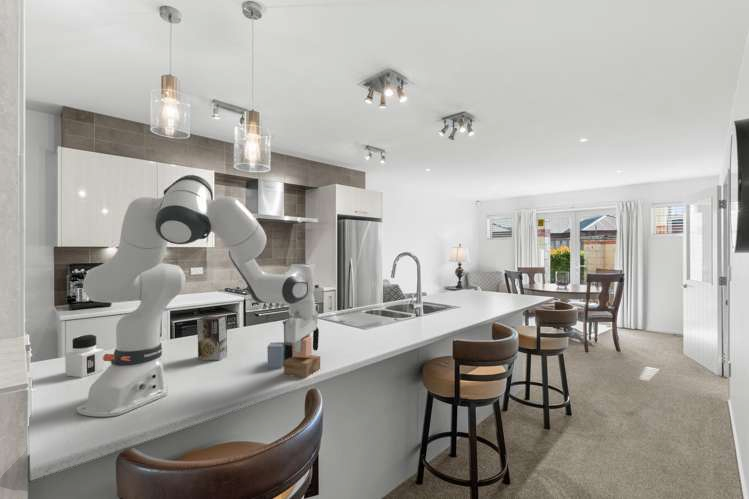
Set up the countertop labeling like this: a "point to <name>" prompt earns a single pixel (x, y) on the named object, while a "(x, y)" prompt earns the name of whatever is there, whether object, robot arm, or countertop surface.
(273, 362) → the slate block
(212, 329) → the coffee box
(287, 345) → the milk frother
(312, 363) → the walnut block
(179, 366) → the countertop surface
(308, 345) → the terracotta block
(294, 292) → the robot arm
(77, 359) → the container
